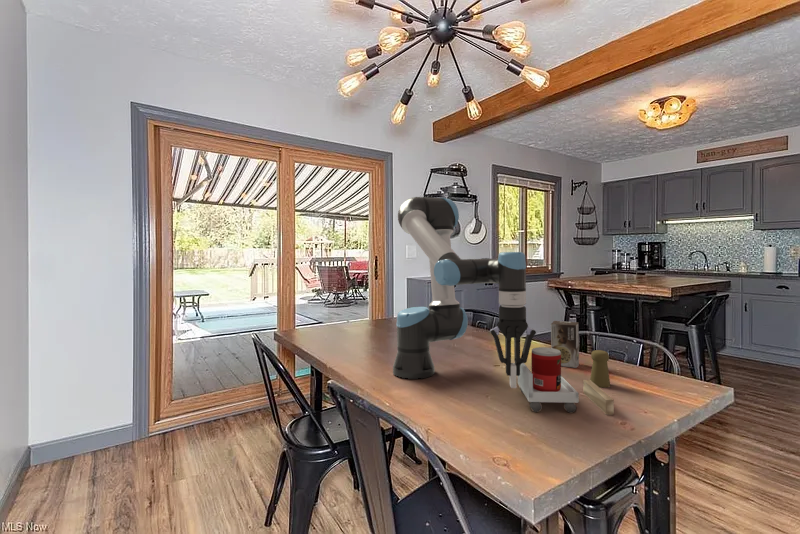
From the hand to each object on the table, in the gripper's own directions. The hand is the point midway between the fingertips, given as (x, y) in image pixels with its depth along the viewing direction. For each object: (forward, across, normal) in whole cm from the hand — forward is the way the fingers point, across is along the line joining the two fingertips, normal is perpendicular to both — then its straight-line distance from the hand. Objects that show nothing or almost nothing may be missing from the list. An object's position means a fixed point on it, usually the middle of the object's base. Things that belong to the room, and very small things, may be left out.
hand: (512, 386), depth 115 cm
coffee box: (+5, +26, +38) cm, 47 cm away
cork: (+5, +30, +16) cm, 35 cm away
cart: (+5, +9, 0) cm, 10 cm away
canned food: (+1, +9, 0) cm, 9 cm away
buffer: (+5, +24, 0) cm, 24 cm away
